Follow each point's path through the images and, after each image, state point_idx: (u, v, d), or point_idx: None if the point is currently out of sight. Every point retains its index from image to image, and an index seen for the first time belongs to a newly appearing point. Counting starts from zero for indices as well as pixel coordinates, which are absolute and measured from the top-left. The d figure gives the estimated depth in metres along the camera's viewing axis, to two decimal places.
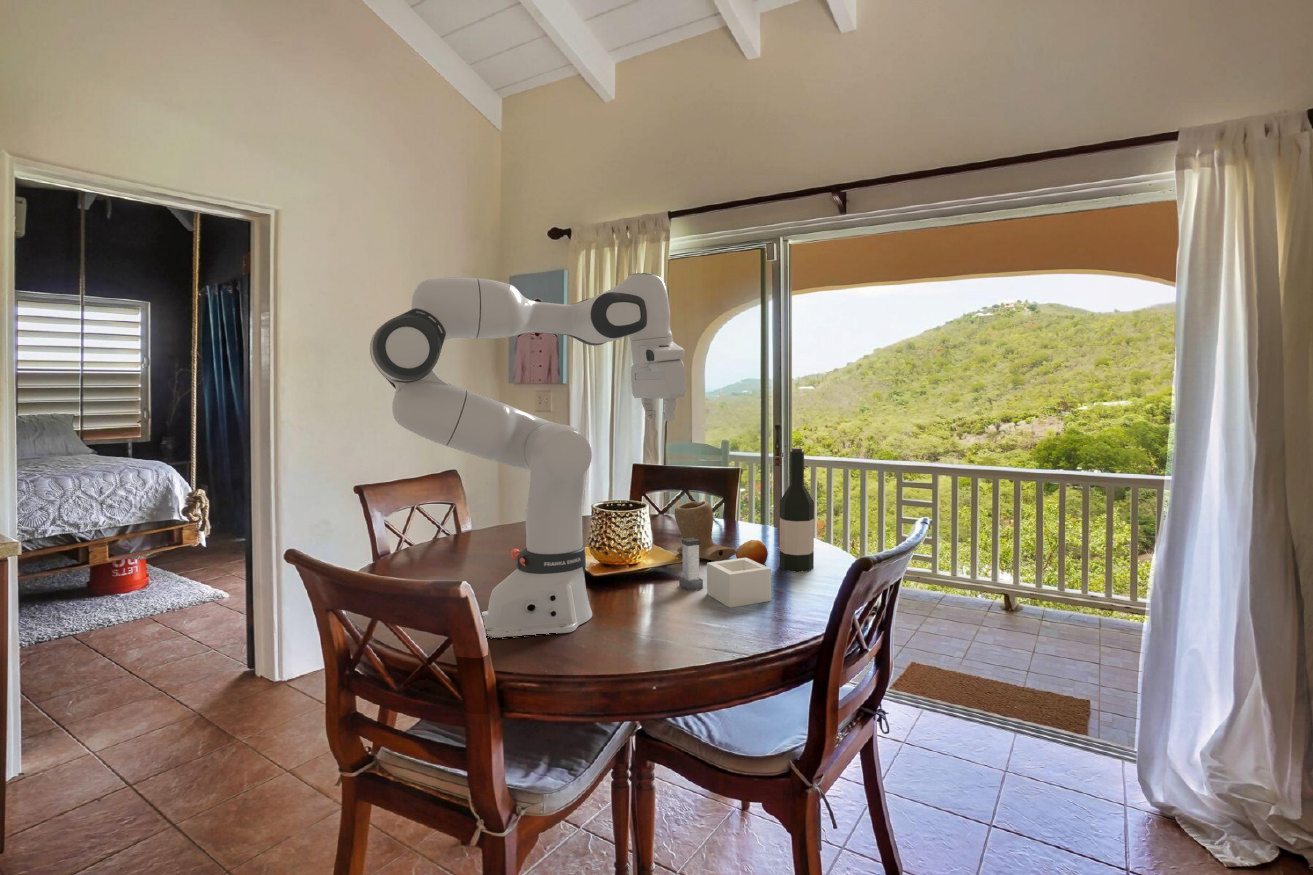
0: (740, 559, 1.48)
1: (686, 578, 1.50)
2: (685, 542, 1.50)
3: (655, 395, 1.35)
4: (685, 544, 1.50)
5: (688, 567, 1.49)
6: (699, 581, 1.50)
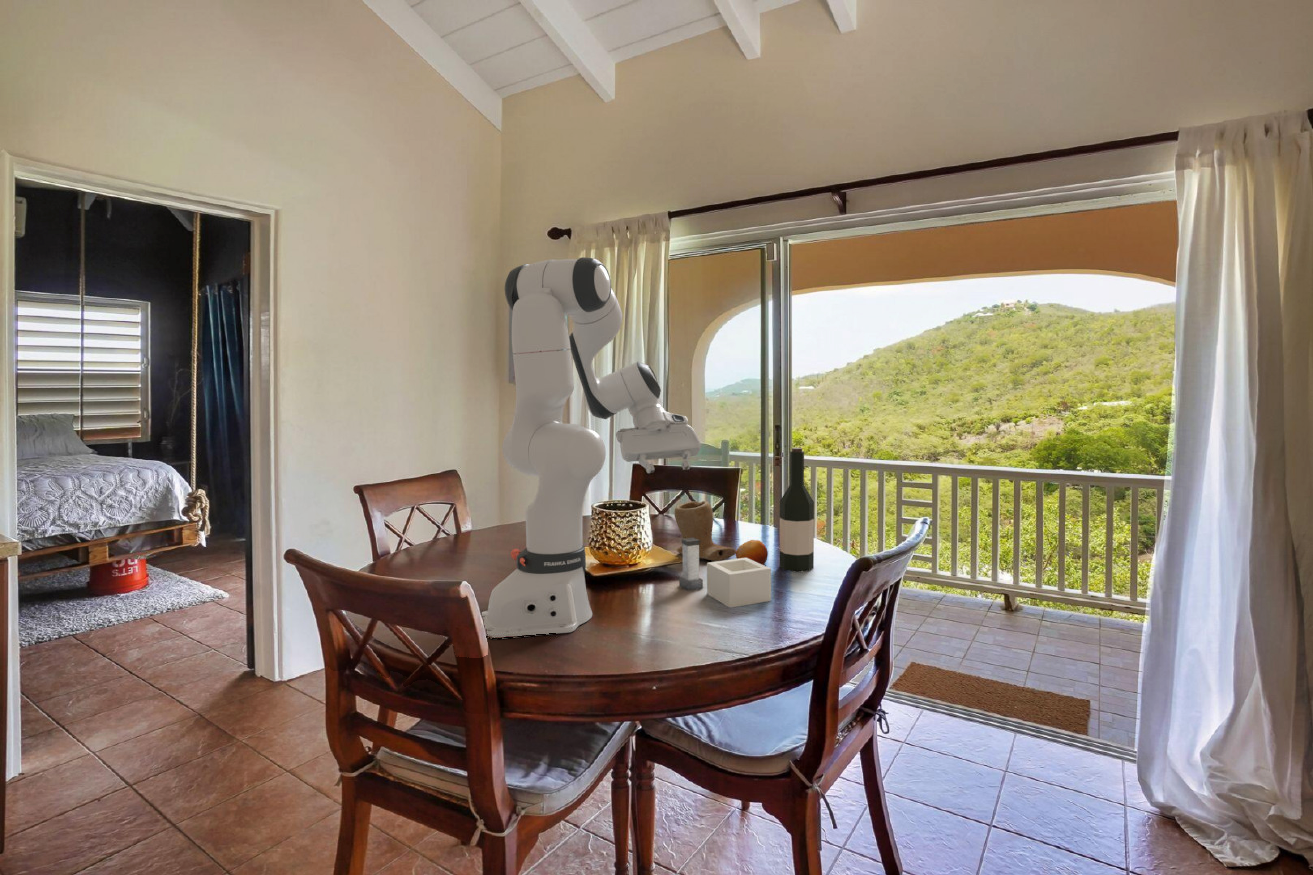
0: (740, 559, 1.48)
1: (686, 578, 1.50)
2: (685, 542, 1.50)
3: (676, 447, 1.63)
4: (685, 544, 1.50)
5: (688, 567, 1.49)
6: (699, 581, 1.50)
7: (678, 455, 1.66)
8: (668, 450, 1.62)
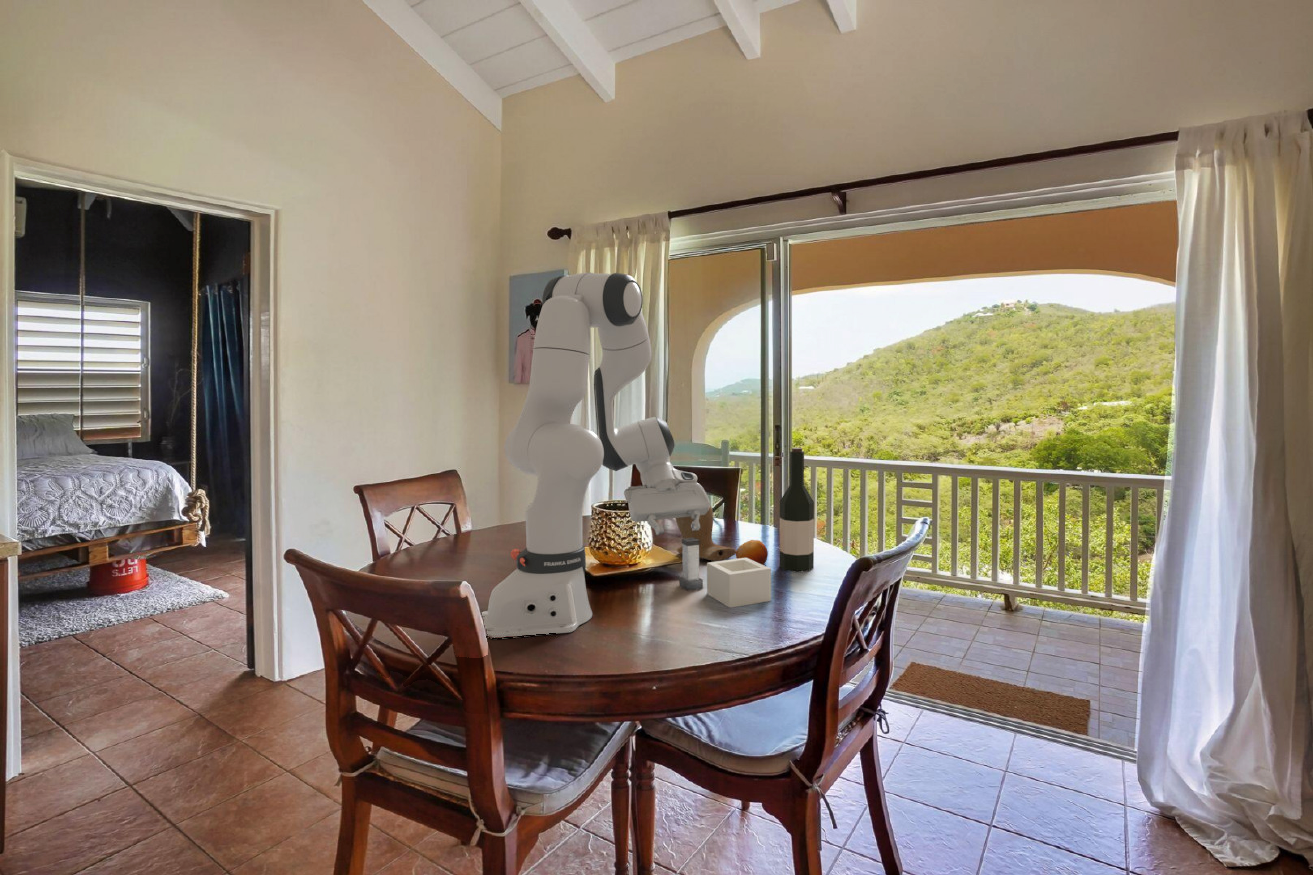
0: (740, 559, 1.48)
1: (686, 578, 1.50)
2: (685, 542, 1.50)
3: (685, 507, 1.59)
4: (685, 544, 1.50)
5: (688, 567, 1.49)
6: (699, 581, 1.50)
7: (687, 514, 1.61)
8: (677, 510, 1.58)
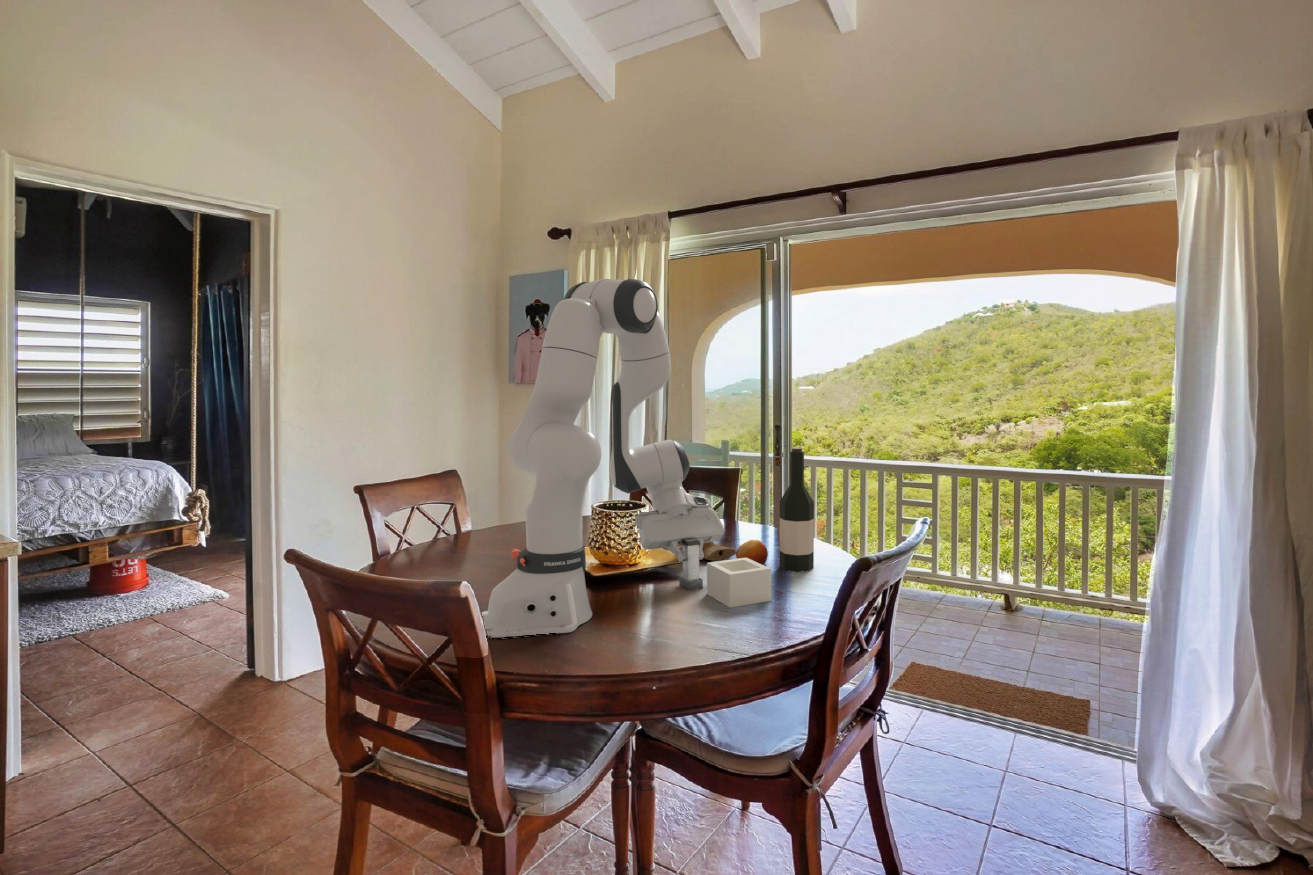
0: (740, 559, 1.48)
1: (686, 578, 1.50)
2: (685, 542, 1.50)
3: (698, 533, 1.53)
4: (685, 544, 1.50)
5: (688, 567, 1.49)
6: (699, 581, 1.50)
7: None
8: (690, 537, 1.52)
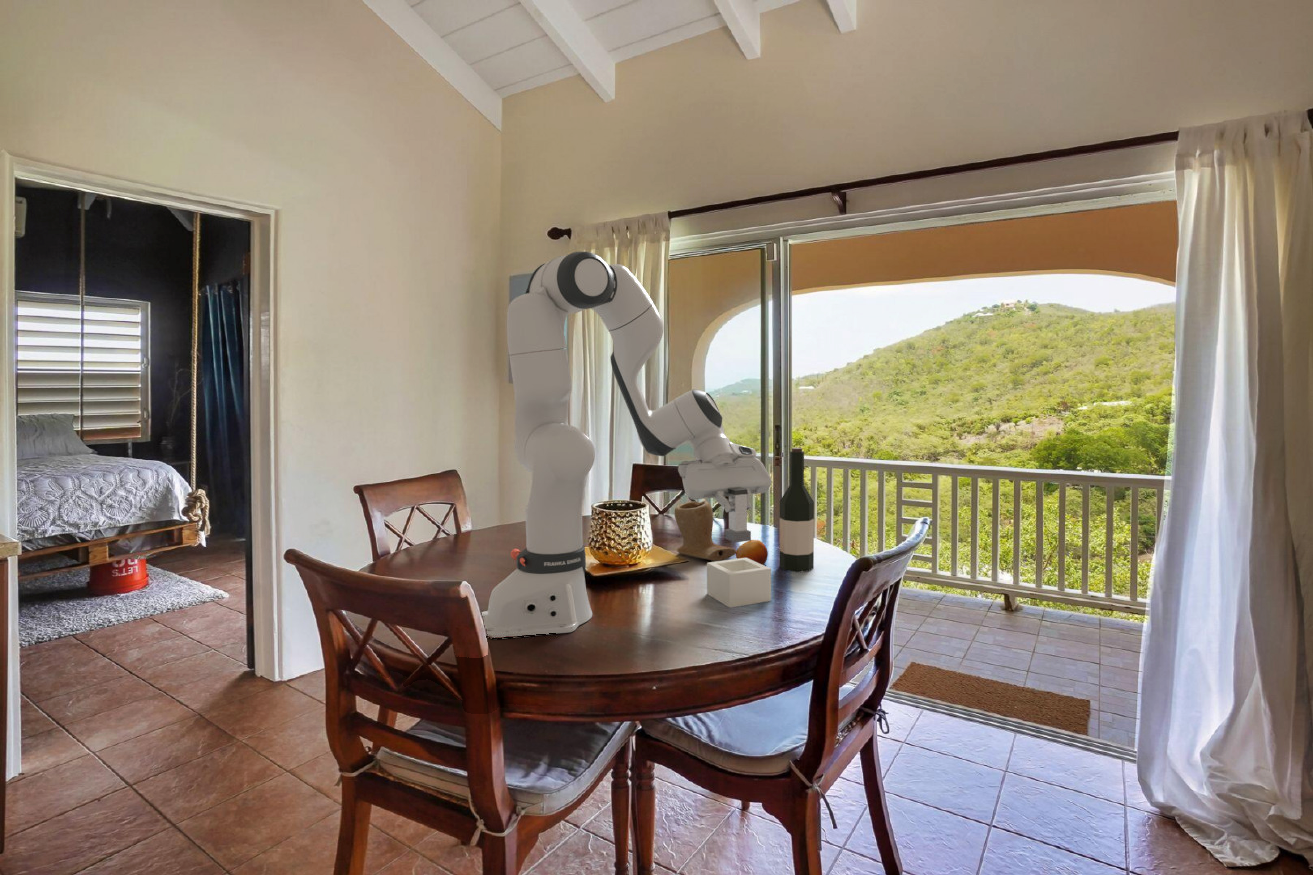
0: (740, 559, 1.48)
1: (733, 529, 1.41)
2: (732, 491, 1.41)
3: (745, 483, 1.45)
4: (732, 493, 1.41)
5: (736, 518, 1.41)
6: (747, 533, 1.41)
7: None
8: (737, 487, 1.44)
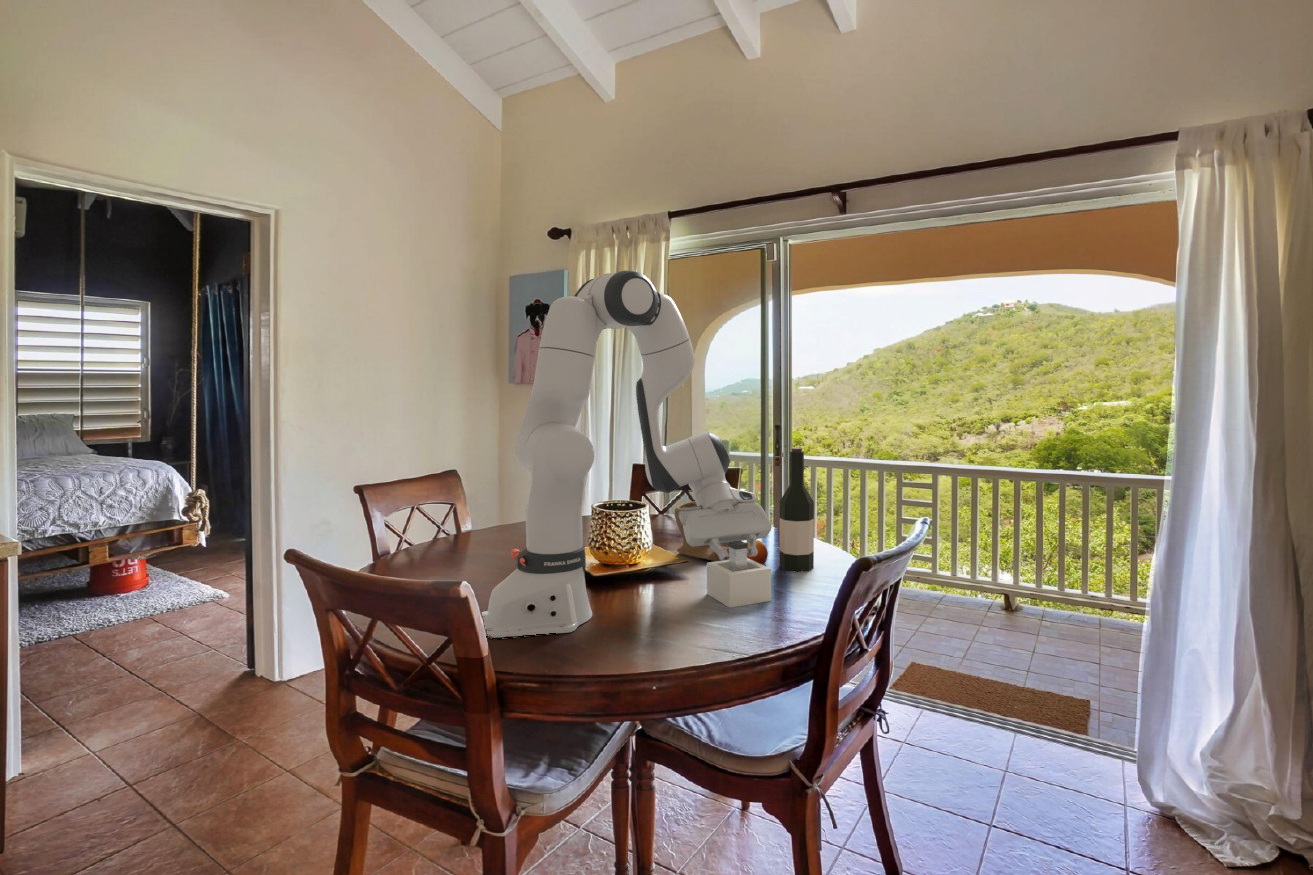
0: None
1: None
2: (732, 545, 1.42)
3: (745, 530, 1.45)
4: (732, 547, 1.42)
5: None
6: None
7: None
8: (737, 533, 1.44)
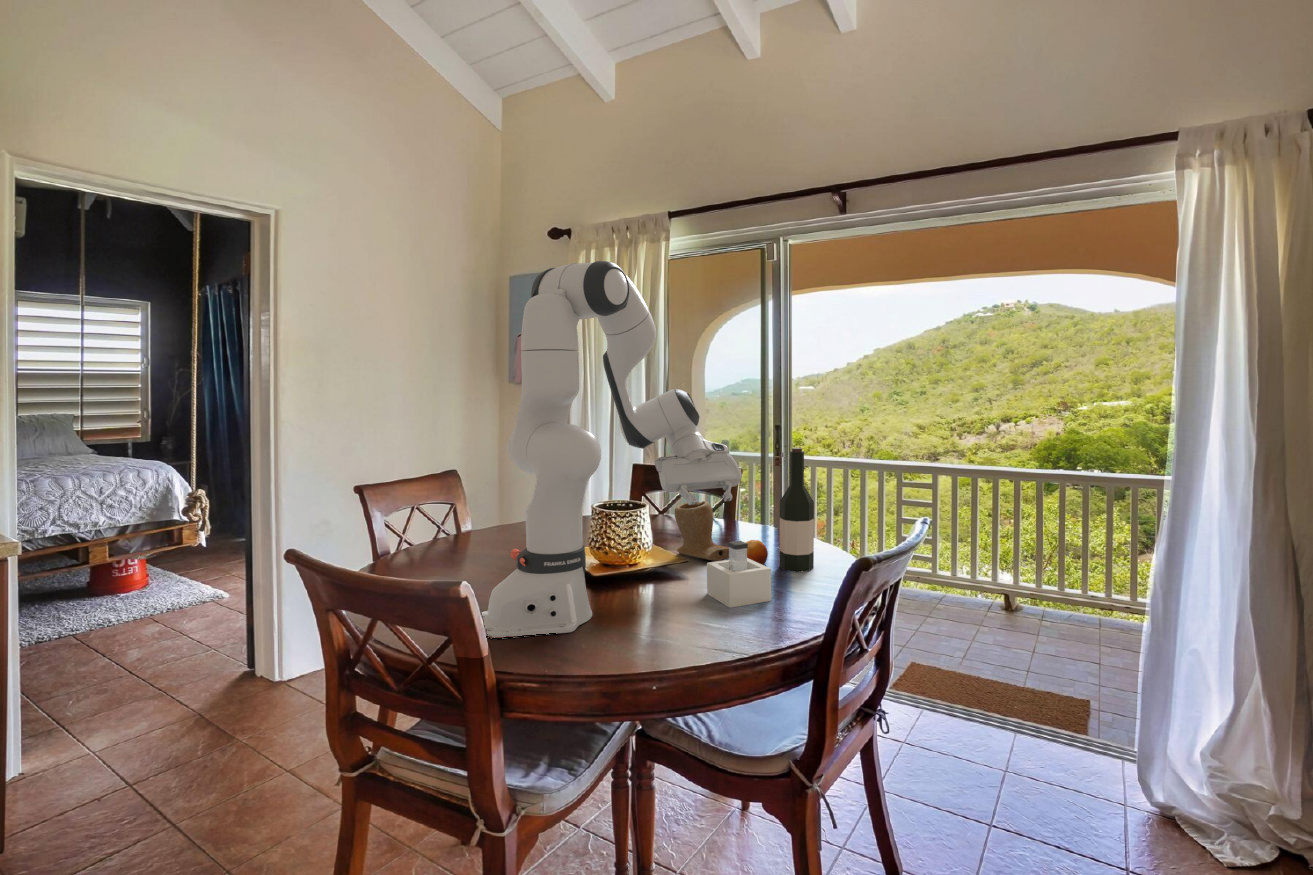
0: None
1: None
2: (732, 545, 1.42)
3: (717, 477, 1.56)
4: (732, 547, 1.42)
5: None
6: None
7: (718, 486, 1.59)
8: (709, 480, 1.55)
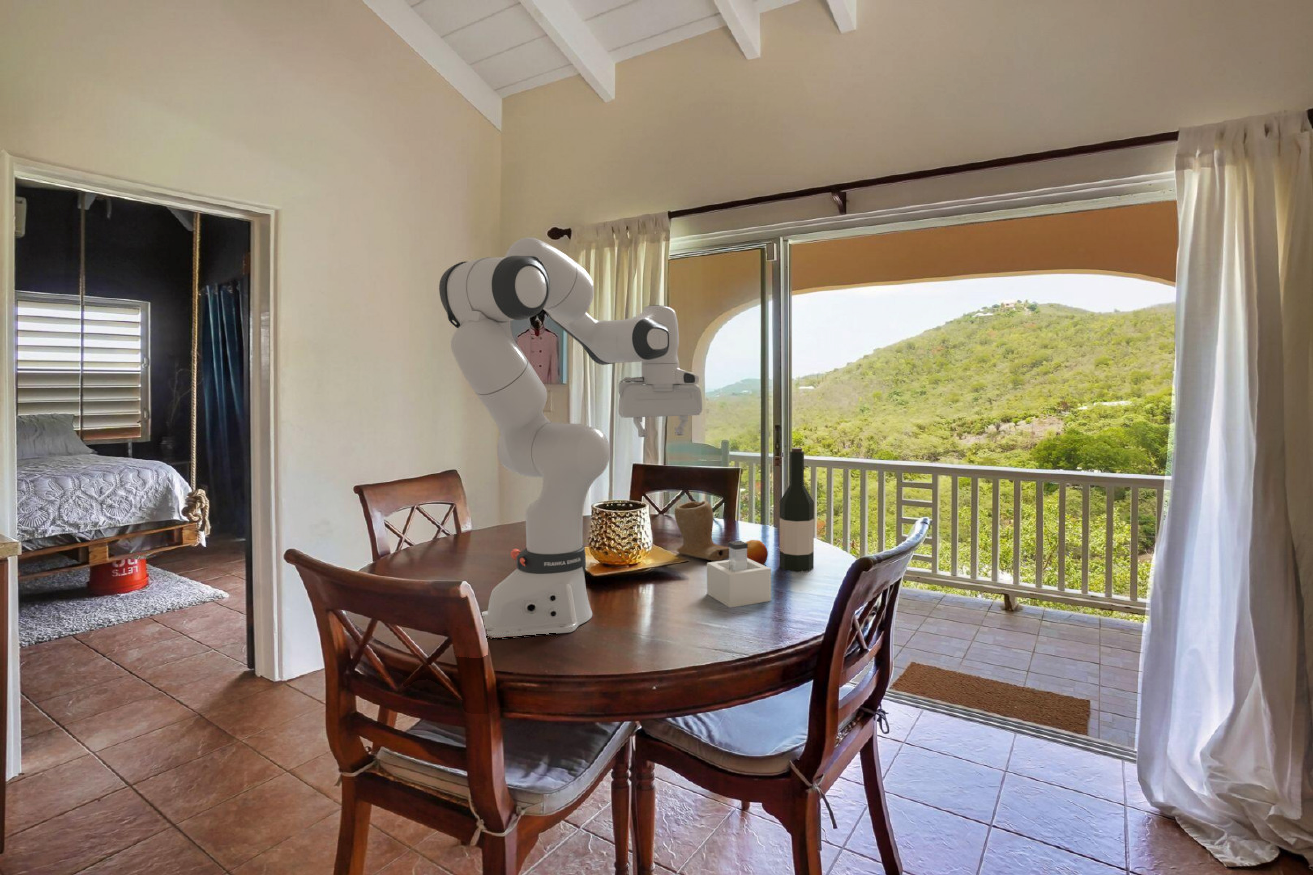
0: None
1: None
2: (732, 545, 1.42)
3: (676, 413, 1.55)
4: (732, 547, 1.42)
5: None
6: None
7: None
8: (667, 415, 1.54)
